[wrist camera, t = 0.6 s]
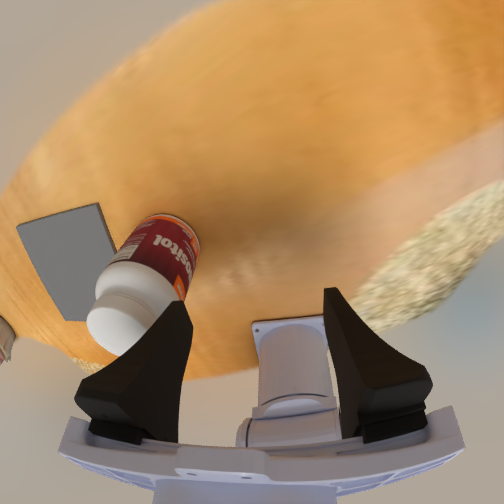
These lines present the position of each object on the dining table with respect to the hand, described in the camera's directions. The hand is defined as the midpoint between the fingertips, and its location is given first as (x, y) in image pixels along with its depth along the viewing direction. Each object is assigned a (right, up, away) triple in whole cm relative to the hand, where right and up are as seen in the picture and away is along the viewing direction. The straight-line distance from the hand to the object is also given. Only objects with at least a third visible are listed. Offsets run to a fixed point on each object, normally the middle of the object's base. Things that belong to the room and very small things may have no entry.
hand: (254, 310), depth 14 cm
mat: (-19, +1, +12) cm, 23 cm away
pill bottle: (-8, +4, +10) cm, 13 cm away
